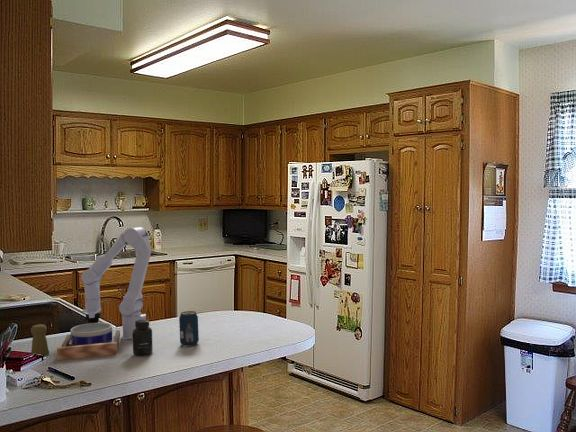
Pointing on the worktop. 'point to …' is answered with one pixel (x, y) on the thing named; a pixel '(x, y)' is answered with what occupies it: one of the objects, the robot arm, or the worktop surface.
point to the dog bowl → (91, 334)
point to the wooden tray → (87, 349)
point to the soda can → (188, 328)
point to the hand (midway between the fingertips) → (94, 331)
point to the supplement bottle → (142, 338)
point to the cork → (39, 340)
